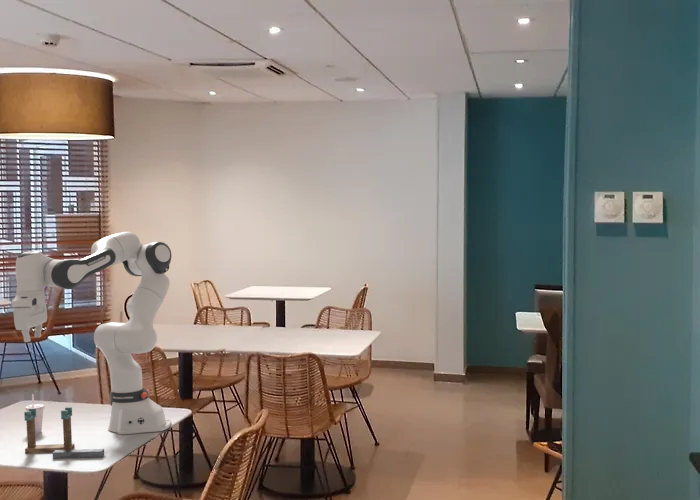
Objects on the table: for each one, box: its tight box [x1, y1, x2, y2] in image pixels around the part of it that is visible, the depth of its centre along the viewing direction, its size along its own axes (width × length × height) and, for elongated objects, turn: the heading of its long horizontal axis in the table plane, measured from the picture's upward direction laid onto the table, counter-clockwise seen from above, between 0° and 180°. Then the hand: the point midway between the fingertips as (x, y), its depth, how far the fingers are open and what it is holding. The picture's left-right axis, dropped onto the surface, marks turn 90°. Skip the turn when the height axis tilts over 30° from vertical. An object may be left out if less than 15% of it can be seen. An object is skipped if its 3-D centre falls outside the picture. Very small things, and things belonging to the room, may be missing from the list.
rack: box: [23, 406, 75, 454], centre depth 254 cm, size 15×5×14 cm, turn 93°
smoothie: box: [24, 393, 45, 435], centre depth 277 cm, size 6×6×14 cm
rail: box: [52, 448, 105, 460], centre depth 247 cm, size 16×2×2 cm, turn 90°
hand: (32, 339), depth 257 cm, fingers open, 8 cm apart
